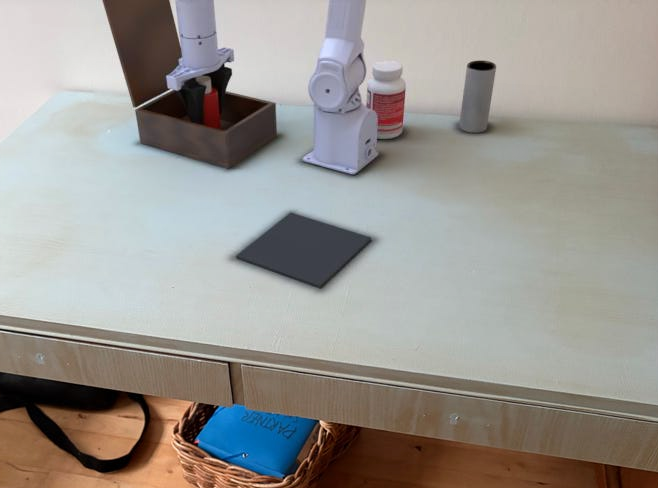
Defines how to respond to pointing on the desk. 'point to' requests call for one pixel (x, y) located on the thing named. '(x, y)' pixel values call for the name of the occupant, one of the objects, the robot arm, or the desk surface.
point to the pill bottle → (387, 98)
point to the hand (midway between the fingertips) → (206, 118)
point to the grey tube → (477, 96)
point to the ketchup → (210, 104)
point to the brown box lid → (144, 45)
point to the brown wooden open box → (208, 128)
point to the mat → (304, 249)
